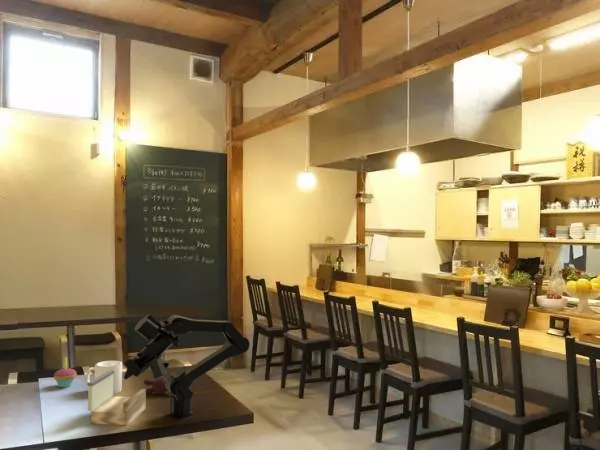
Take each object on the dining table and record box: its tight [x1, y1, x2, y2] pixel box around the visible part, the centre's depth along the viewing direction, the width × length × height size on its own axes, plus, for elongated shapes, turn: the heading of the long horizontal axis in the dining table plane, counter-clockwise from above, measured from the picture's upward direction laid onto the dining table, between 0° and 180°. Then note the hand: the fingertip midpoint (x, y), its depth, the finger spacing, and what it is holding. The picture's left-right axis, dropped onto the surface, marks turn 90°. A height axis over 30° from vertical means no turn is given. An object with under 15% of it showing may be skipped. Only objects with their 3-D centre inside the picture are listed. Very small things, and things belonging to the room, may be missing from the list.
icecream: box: [143, 376, 170, 396], centre depth 197 cm, size 7×7×15 cm
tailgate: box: [87, 370, 114, 412], centre depth 172 cm, size 2×16×9 cm, turn 176°
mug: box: [85, 360, 123, 395], centre depth 200 cm, size 14×10×11 cm
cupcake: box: [53, 356, 77, 388], centre depth 206 cm, size 9×8×12 cm
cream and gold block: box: [90, 388, 147, 426], centre depth 172 cm, size 12×16×7 cm
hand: (125, 378), depth 172 cm, fingers closed
